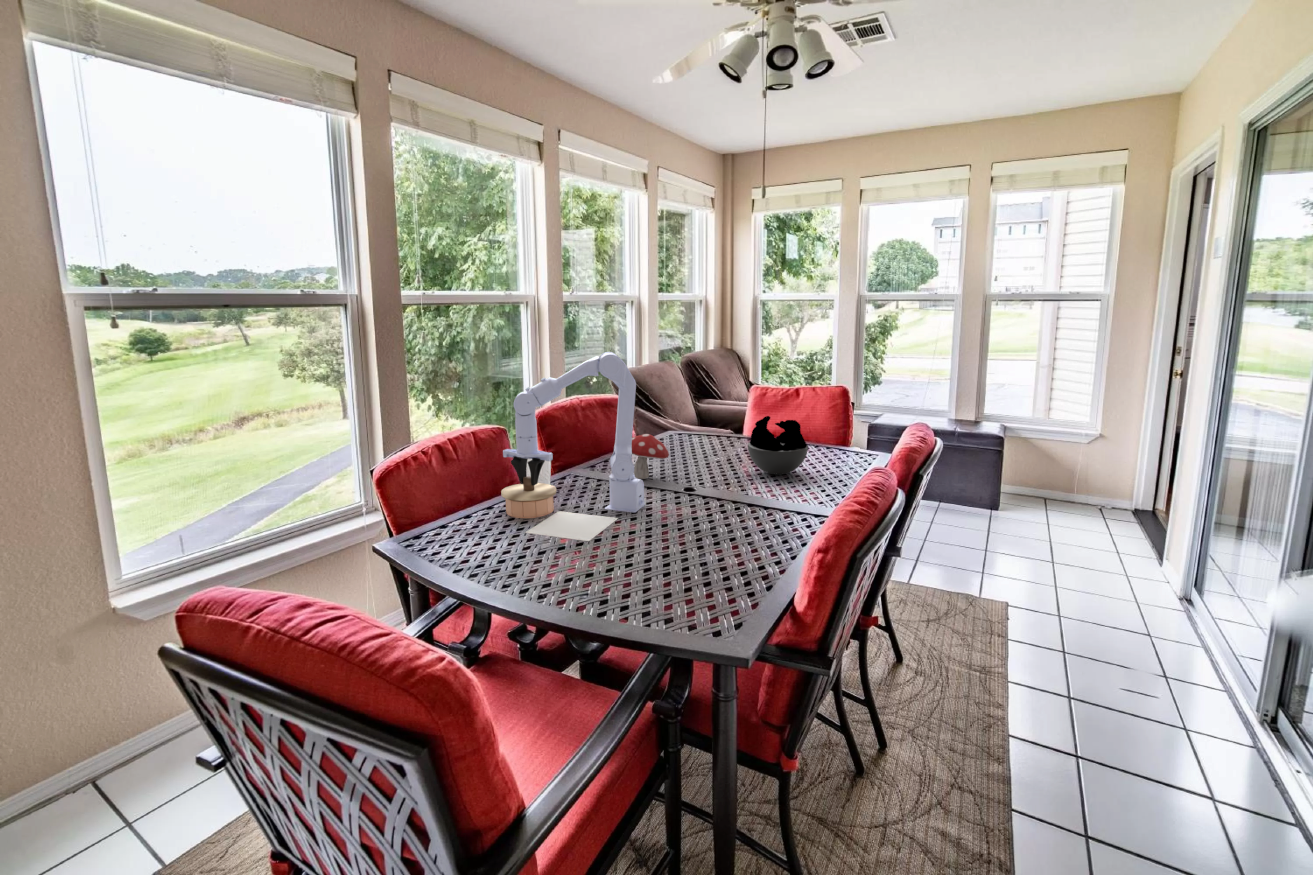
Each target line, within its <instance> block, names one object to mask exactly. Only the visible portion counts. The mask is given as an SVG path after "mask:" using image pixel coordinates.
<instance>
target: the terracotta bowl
mask: <svg viewBox="0 0 1313 875" xmlns="http://www.w3.org/2000/svg"><path fill="white" fill-rule="evenodd" d="M504 499H505V498H504ZM554 505H555V504H554V496H552V497H549V498H546V499H541V500H534V501H515V500H509V499H505V511H506V512H505V513H506V515H508V516H510V517H511V518H516V519H517V518H518V519H535V518H541V517H544V516H547V515H548V516H549V515H551V513H553V512H554V509H555V507H554Z"/></svg>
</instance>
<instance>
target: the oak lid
mask: <svg viewBox="0 0 1313 875" xmlns="http://www.w3.org/2000/svg"><path fill="white" fill-rule="evenodd" d="M500 492H501V494H500V495H501V497H502V498H504V499H509V500H515V501H534V500H541V499H546V498H549V497H552V496H553V497H554V496H556V494H557V487H556V486H555V485H551V484H550V485H549V484H544V483H538V484H536V485H532V484H531V476H528V475H527V477H523V484H520V483H518V484H512V485H509V486H506V487H504V488H503V489H501V491H500Z"/></svg>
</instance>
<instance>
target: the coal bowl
mask: <svg viewBox="0 0 1313 875" xmlns="http://www.w3.org/2000/svg"><path fill="white" fill-rule="evenodd" d="M770 420H771V416H770V415H767V416H763V417H762V418H761V419H759V420H757V421H756V422H755V427H754V428H753V429H752V431H751V435H750V440H749V442H747V451H748V454H749V457H750V460H752V462H753V463H754V465H755V466H756V467H757V468H758V469H760V470H761V471H763V472H765V473H767V474H771V475H778V476H779V475H786V474H789V473H791V472H794V471H795V470H797V468H799V467H800V466H801V465H802V463H803V462H804V461H805V458H806V457H807V454H808V451H809V445H808V444H807V442H806V441H805V438H804V436H803V434H802V432H801V427H802V426H801V424H800V423H799V422H798V421H797V420H796V419H795V420H794V419H786V420H785V421H784V420H780V421H779V422H775V423H774V424H775V425H776V426H778V427H779V428H780V429H782V430H784V431H783V432H781V433H780V434H779V435H777V436H776V437H775V434H773V433H772V432H771V431H770V430H769V429H768V423H769V422H770Z"/></svg>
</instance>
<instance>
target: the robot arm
mask: <svg viewBox="0 0 1313 875" xmlns="http://www.w3.org/2000/svg"><path fill="white" fill-rule="evenodd" d="M599 373H600V374H601V376H603V377H604V378H607V379H608V380H610V381H612V382H613V383H614V385H615V386H616V387H617V388H618V397H617V398H618V399H617V409H616V413H617V414H616V424H615V426H616V427H615V436H614V437H615V438H614V439H615V440H614V446H613V453H612V455H611V456H610V458H609V466H610V468H611V473H610V475H608V478H609V482H608V483H609V504H608V505H607V506H605V507H604V509H605V510H609V511H619V512H628V513H637V512H638V511H639V510H640V509H641V508H643V507H645V505H646V503H645V483H644V479H637V478H635V475H634V467H635V464H634V463H633V460H632V459H633V458H632V457H633V454H632V437H633V432H634V431H633V430H634V418H635V404H636V391H637V390H636V389H637V381H636V380H635V378H634V376H633V374H632V373H631V371H630V369H629V367H628V366H627V364H626V363H625V362H624V360H623V358H621V357H619V356H618V355H617V354H616V353H614V352H612V351H606V352H603V353H601V354H600V355H596V356H593V357H591V358H589V359H587V360H585V361H584V362H582V363H580V364H578V365H577V366H575V367H573V368H572V369H570V370H568V371H567V372H565V373H564V374H562V375H561V376H558V377H557V378H554V377H552V376H551V377H550V376H549V377H547V378H546V377H545V376H544V377H542V378H541V379H540V382H538V383H537V384H535V385H533V386H531V387H529V386H528V387H526V388H525V391H521V392H519V393H518V394H517V395H516V396H515V398H514V401H513V409H514V410H515V414H514V417H515V419H514V421H515V422H514V425H515V426H514V428H515V441H516V449H515V448H514V449H512V448H506V449H503V450H502V457H503V458H512V460H510V464H511V465H512V466H513V468H514V470H515V472H516V474H517V477H518V480H519V484H523V477H527V476H528V475H527V460H528V459H532V460H531V461H529V462H528V465H529V469H530V473H531V484H532V485H536V484H538V478H539V474H540V471H541V468H542V466H543V464H544V462H545V460H546V461H551V462H552V461H553V460H554V459H553V453H552V452H549V451H548V452H547V451H544V450H539V449H538V448H539V446H538V445H539V444H538V425H537V423H538V422H537V418H536V408H537V407H540V408H541V407H542V406H544V405H546V404H547V403H549V402H551V401H553V400H555V399H557V398H559V397H560V396H561V395H562V390H563V389H564V388H567V387H568V386H570V385H572V384H574V383H576V382H578V381H580V380H582V379H583V378H586V377H588V376H589V377H590V376H591V377H599Z"/></svg>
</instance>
